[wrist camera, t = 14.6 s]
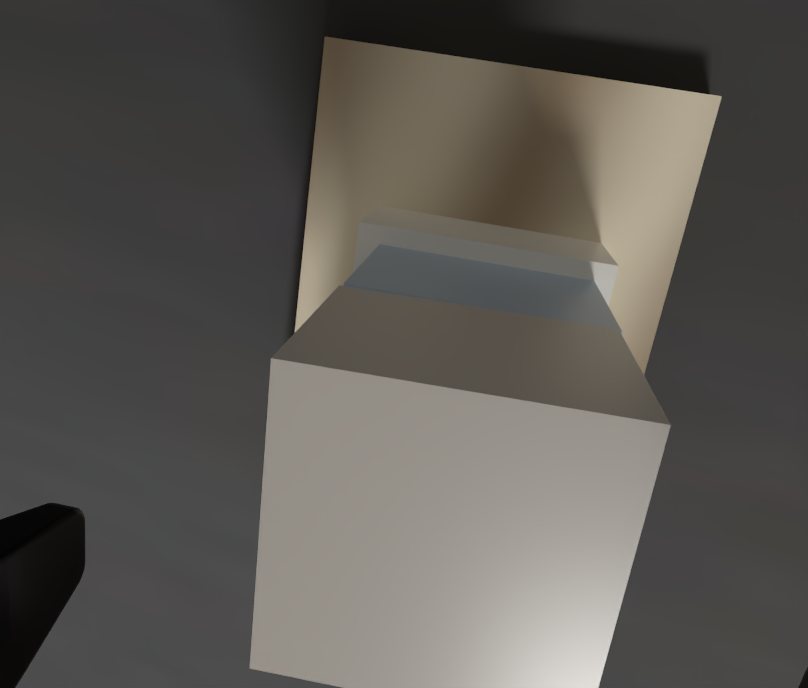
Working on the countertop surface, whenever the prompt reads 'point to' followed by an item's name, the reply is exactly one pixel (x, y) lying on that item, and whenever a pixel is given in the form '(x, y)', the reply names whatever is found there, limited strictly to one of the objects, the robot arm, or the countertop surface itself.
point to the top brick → (449, 496)
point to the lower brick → (486, 245)
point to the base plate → (504, 163)
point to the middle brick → (482, 285)
